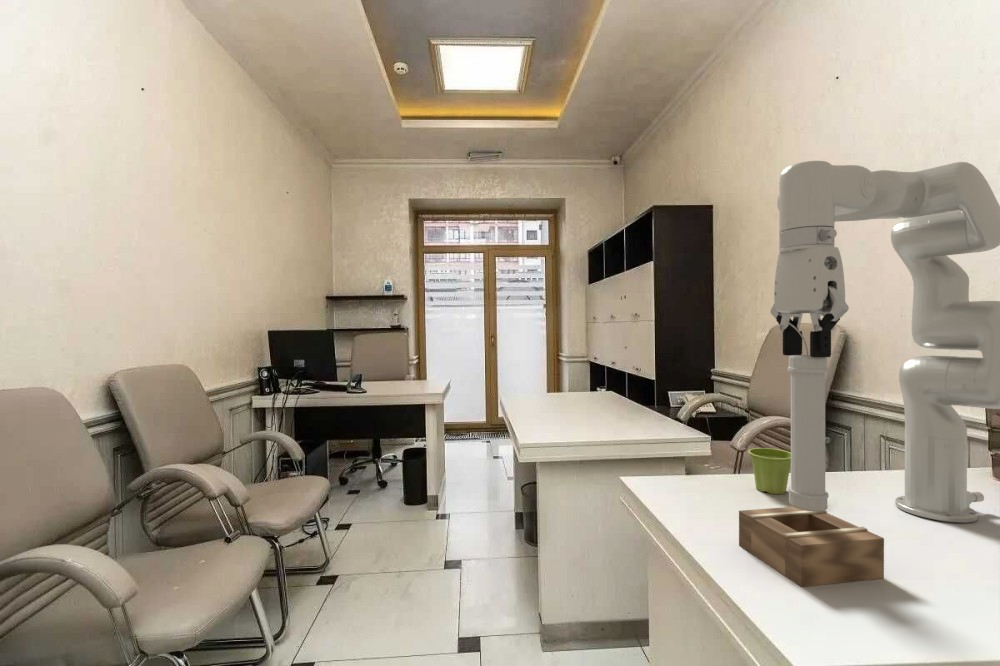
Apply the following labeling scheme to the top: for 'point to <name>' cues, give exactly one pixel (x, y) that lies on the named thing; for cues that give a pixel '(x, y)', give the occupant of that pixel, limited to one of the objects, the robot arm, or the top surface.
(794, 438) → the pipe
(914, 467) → the robot arm
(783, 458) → the plant pot
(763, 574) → the top surface
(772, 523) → the socket block
